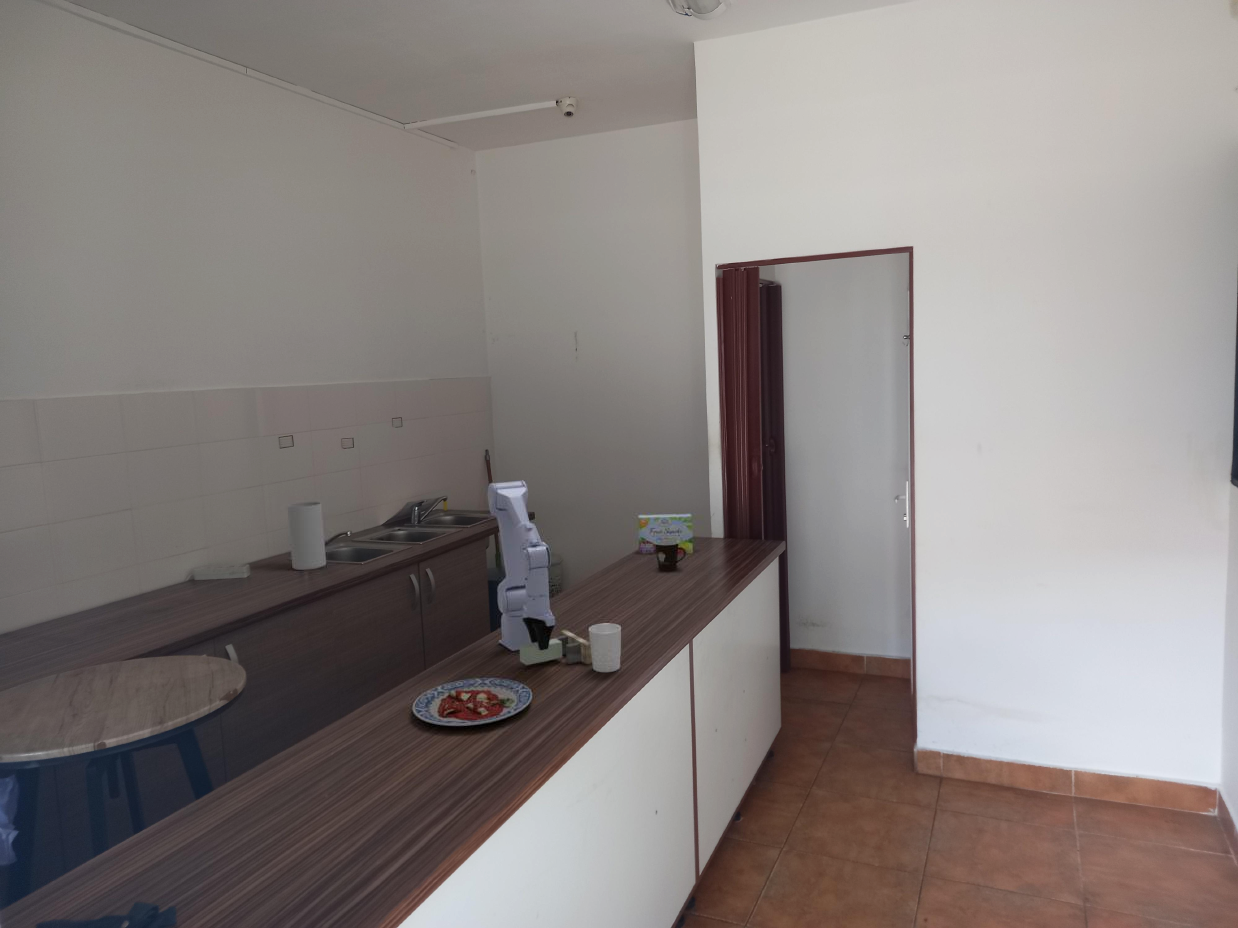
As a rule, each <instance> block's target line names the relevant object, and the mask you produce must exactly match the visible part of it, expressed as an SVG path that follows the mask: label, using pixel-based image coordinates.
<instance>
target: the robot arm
mask: <svg viewBox="0 0 1238 928" xmlns="http://www.w3.org/2000/svg"><path fill="white" fill-rule="evenodd" d="M528 498H529V490H528V485H527V483H526V482H525V481H524V480H522V479H521V480H518V481H516V480H515V481H508V482H507V481H506V482H505V481H504V482H496V483H495V482H491V483H489V484H488V487H487V503H488V509H489V511H490V515H491V516H494V517H495V518H496V521H497V524H498V529H499V530H498V531H499V536H500V543H501V550H502V556H503V557H502V558H503V564H504V571H505V578H504V579H503V580H502V581H501V582H500V583H498V585H497V589H496V590H497V605H498V610H499V611H500V612H501V613H502V615H501V618H500V625H501V627H500V629H501V639H499V641H498V642H499V644H501V645H503V646H504V647H506V648H507V649H508V650H510V651H512V652H514V651H515V652H516V651H520V645H524V644H529V643H535V642H538V647H539V649H540V650H545V649H548V646H549V641H550V640H551V636H552V632H553V630H554V628H555V627H556V617H555V616H554V615H553V613H552V610H551V609H550V608H551V607H550V588H549V568H551V563H552V554H551V550H550V547H549V546H548V544H546V543H545V541H542V540H541V539H542V538H541V537H540V534H539V532H538V529H537V526H536V524H535V523H532V522H530V519H529V515H528V514H529V513H528V511H527V508H526V505H527V503H528Z"/></svg>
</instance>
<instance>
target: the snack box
mask: <svg viewBox="0 0 1238 928" xmlns="http://www.w3.org/2000/svg"><path fill="white" fill-rule="evenodd" d="M637 521H638V524H637V525H638V527H637V529H638V553H639V555H652V554H653V555H654V554H655V555H657V553H656V547H655V542H657V541H662V540H674V541H678V542H679V546H678V548H680V547H681V548H683V549H684V550H685V552H686V554H692V553H694V547H693V546H694V545H693V544H694V541H693V537H694V536H693V517H692V513H676V514H675V513H673V514H672V513H671V514H667V513H664V514H639V515H637ZM678 554H684V552H683V550H682V549H679V550H678Z"/></svg>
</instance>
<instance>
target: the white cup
mask: <svg viewBox="0 0 1238 928" xmlns="http://www.w3.org/2000/svg"><path fill="white" fill-rule="evenodd" d="M588 636H589V643H590V648H591V658H592V663H591V664H592V669H593V670H594V671H595V672H598V673H612V672H615V671H618V670H619V669H621V655H622V654H621V653H622V627H621V625H619V624H616V623H609V622H607V623H606V622H605V623H604V622H603V623H597V624H593V625H591V626H589V628H588Z"/></svg>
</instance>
